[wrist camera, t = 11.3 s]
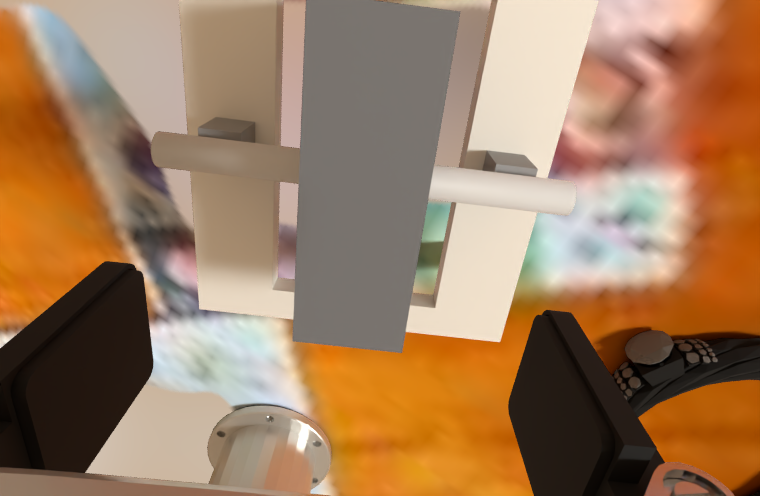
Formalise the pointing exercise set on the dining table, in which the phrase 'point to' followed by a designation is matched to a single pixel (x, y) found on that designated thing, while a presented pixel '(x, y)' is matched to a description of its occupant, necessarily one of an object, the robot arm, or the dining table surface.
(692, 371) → the cable lock
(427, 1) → the dining table surface
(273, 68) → the cream frame with rod
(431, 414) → the dining table surface
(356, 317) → the grey piece
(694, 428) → the dining table surface
